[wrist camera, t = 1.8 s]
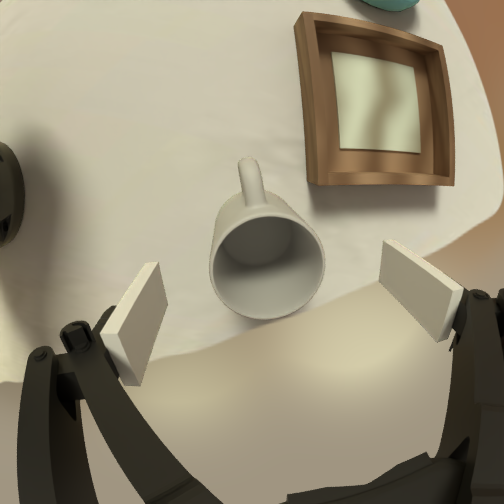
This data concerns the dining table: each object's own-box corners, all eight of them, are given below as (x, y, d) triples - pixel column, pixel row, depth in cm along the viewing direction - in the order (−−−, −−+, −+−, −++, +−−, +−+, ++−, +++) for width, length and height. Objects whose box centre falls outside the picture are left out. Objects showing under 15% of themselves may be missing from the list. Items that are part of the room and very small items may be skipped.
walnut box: (306, 180, 28) (318, 185, 24) (293, 26, 22) (302, 11, 18) (434, 181, 29) (454, 186, 25) (424, 52, 22) (442, 45, 19)
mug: (298, 257, 31) (329, 308, 21) (224, 271, 31) (222, 330, 21) (283, 149, 27) (315, 149, 16) (200, 164, 27) (182, 172, 16)
